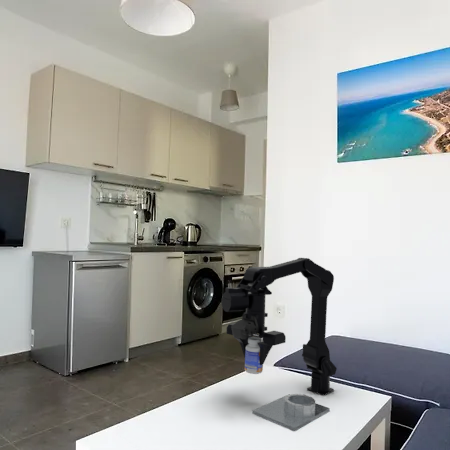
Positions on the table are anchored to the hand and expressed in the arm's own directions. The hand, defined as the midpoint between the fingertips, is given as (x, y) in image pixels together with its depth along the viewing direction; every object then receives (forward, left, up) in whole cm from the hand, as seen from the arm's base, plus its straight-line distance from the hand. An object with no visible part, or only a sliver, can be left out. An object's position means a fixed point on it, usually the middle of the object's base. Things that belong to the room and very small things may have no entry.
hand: (254, 362), depth 118 cm
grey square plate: (-4, +11, -12) cm, 17 cm away
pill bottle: (0, 0, -3) cm, 3 cm away
